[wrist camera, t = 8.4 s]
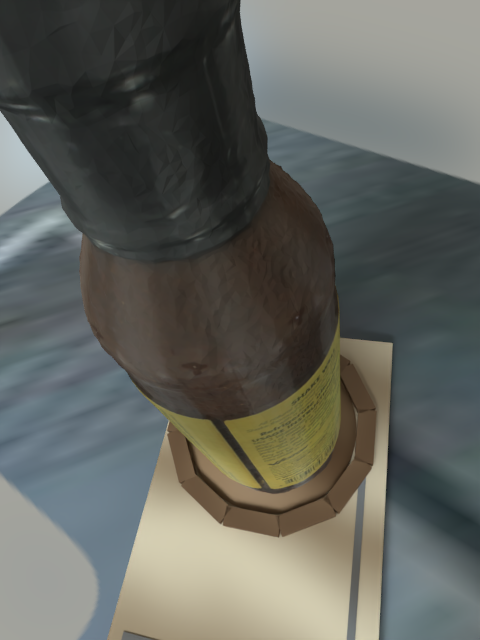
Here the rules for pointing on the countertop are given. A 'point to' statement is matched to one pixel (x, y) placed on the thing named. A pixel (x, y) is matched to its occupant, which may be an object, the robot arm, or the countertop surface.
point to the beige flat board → (268, 535)
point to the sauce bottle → (184, 224)
